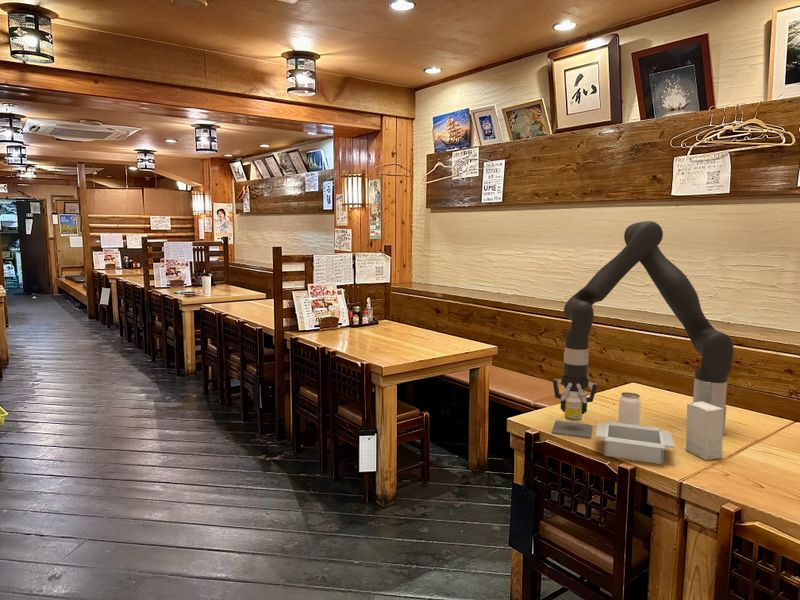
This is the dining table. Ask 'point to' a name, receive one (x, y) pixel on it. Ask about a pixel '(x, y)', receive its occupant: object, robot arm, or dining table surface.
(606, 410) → the dining table surface
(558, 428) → the mat
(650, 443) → the carton
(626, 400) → the can
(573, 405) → the supplement bottle
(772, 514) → the dining table surface
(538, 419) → the dining table surface
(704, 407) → the skincare box
